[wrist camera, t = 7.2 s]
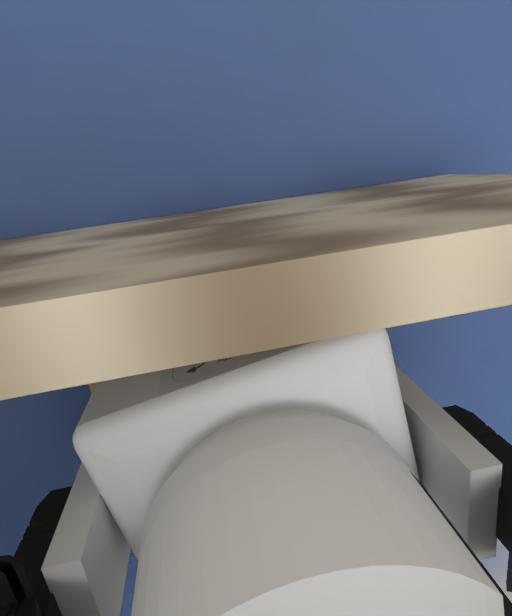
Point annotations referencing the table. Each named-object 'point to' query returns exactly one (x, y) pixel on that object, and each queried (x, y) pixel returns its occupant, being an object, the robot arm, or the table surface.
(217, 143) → the table surface
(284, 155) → the table surface
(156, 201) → the table surface
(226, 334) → the cleat board
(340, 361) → the container
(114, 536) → the robot arm
